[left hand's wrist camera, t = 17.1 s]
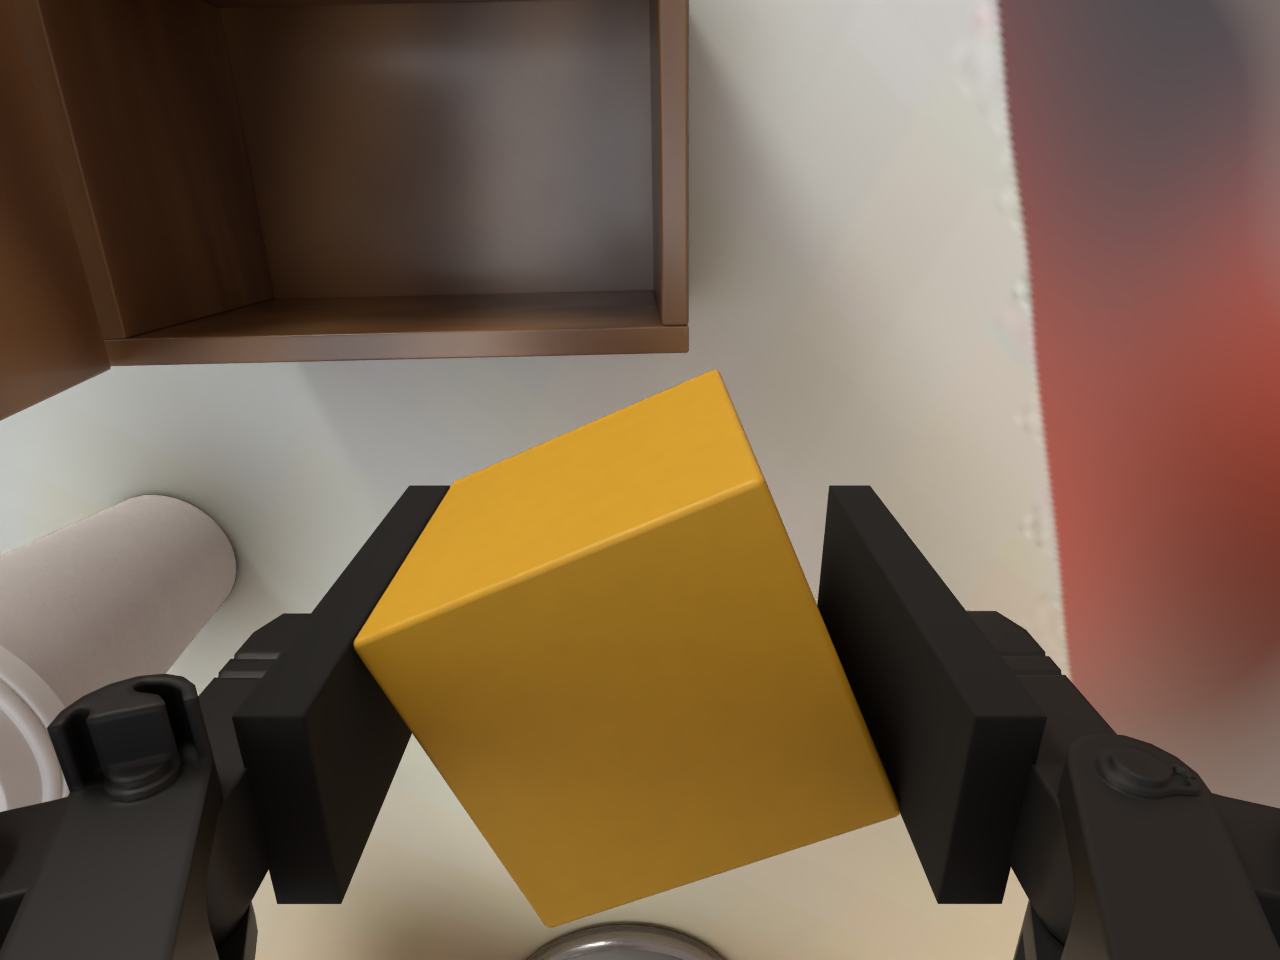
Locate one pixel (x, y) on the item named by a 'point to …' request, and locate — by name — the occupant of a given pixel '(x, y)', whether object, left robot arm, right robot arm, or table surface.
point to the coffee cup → (97, 620)
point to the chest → (372, 175)
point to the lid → (37, 252)
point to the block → (625, 661)
